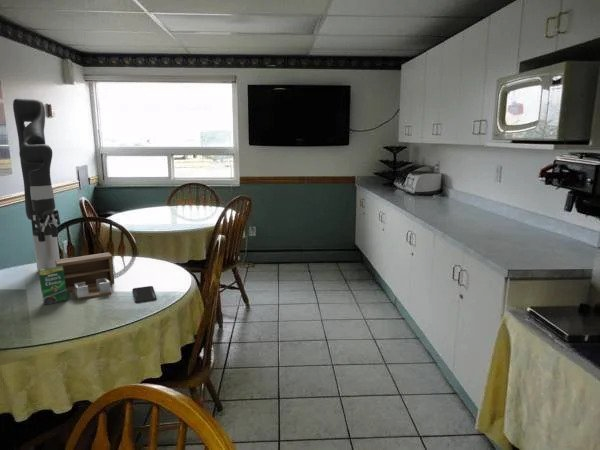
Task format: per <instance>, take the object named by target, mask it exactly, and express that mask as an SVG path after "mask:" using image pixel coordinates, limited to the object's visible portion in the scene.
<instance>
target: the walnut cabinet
mask: <svg viewBox="0 0 600 450" xmlns="http://www.w3.org/2000/svg"><path fill="white" fill-rule="evenodd" d="M55 263H56V267H58V266H62V267H63V271H64V277H65V284H66V290H67V293H69V292H72V293H73V295H74V297H75V298H76V300H77V301H82V300H87V299H94V298H98V297H103V296H107V295H112V291H111V292H107V293H102V294H100V291H99V290H97V287H96V280H97V279H102V278H107V280H108V281H109V282H110V285H113V284H115V276H114V275H115V274H114V264H113V255H112V254H111V253H110V252H109V251H108V252H103V253H96V254H89V255H82V256H74V257H68V258H60V260H55ZM80 282H85V286H88V292H89V296H86V297H81V298H77V296H76V294H75V289H74V283H80Z"/></svg>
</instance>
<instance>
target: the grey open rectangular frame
mask: <svg viewBox="0 0 600 450" xmlns="http://www.w3.org/2000/svg"><path fill="white" fill-rule="evenodd" d="M96 287H97V290H99V291H100V294H102V293H107V292H111V293H112V290H111V284H110V282H109V281H108V280H107V278H102V279H97V280H96ZM74 289H75V294H76V296H77V298H81V297H86V296H89V292H88V286H85V282H80V283H74Z"/></svg>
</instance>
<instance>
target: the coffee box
mask: <svg viewBox="0 0 600 450" xmlns="http://www.w3.org/2000/svg"><path fill="white" fill-rule="evenodd" d="M37 274H38V277H39V285H40V291H41V299H42V302H43V304H44V306H46V305H51V304H56V303H61V302H65V301H68V292H67V290H66V284H65V277H64V271H63V267H62V266H58V267H53V268H48V269H41V270H38V272H37Z"/></svg>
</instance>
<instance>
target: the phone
mask: <svg viewBox="0 0 600 450" xmlns="http://www.w3.org/2000/svg"><path fill="white" fill-rule="evenodd" d="M131 292H132V295H133V301H134V303H136V304H140V303H147V302H154V301H157V295H156V292H155V289H154V286H153V285H149V286H141V287H134V288H132V291H131Z"/></svg>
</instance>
